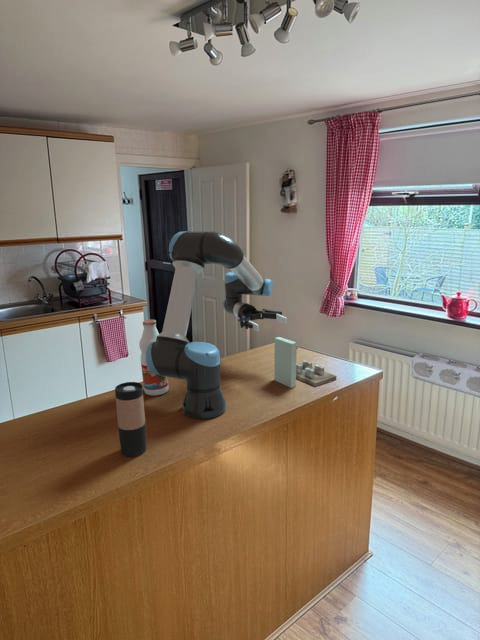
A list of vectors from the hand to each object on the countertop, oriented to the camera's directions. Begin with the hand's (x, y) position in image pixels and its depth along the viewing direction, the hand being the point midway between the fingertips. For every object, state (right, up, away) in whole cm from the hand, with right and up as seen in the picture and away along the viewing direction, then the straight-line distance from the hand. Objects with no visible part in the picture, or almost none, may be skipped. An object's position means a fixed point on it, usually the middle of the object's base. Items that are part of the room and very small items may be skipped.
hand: (272, 324), depth 174 cm
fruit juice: (-45, -26, -6) cm, 52 cm away
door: (+5, -23, +1) cm, 24 cm away
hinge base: (+16, -21, +8) cm, 28 cm away
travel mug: (-44, -36, -47) cm, 74 cm away
